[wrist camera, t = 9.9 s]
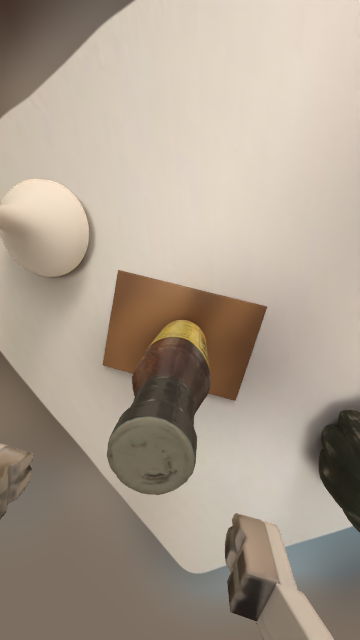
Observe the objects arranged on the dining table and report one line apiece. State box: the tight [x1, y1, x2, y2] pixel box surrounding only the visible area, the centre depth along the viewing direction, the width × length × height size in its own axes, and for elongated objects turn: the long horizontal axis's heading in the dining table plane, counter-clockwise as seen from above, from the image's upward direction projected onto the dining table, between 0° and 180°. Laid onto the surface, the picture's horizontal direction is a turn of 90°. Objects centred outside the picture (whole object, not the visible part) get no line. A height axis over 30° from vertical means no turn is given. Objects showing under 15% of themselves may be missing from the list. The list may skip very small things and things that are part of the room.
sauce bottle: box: [107, 320, 211, 495], centre depth 19 cm, size 7×6×20 cm
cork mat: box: [103, 270, 267, 400], centre depth 29 cm, size 20×14×1 cm
